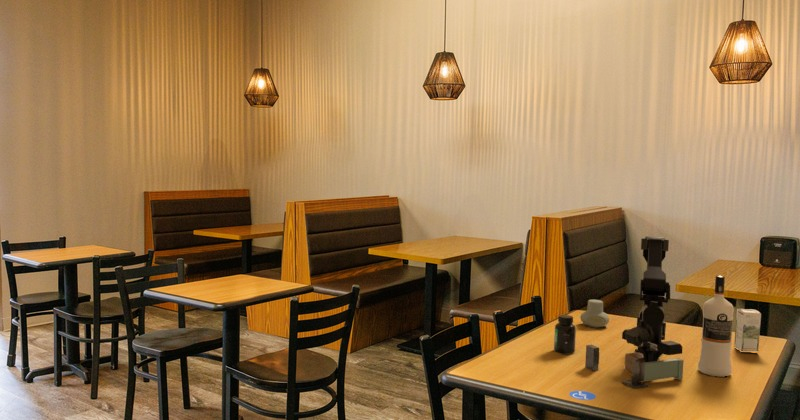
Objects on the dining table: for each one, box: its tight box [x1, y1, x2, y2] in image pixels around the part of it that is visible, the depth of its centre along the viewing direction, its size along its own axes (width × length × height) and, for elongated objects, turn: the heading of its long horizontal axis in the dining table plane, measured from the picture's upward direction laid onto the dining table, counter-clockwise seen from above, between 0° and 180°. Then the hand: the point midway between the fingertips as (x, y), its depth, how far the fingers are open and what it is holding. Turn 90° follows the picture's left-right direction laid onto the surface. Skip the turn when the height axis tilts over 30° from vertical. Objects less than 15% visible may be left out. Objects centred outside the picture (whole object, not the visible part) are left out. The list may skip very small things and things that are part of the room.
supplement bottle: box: [553, 314, 577, 355], centre depth 211 cm, size 7×7×12 cm
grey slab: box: [639, 357, 684, 383], centre depth 183 cm, size 15×2×6 cm, turn 112°
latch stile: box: [584, 344, 600, 372], centre depth 193 cm, size 2×4×7 cm
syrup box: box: [733, 308, 762, 352], centre depth 217 cm, size 6×6×14 cm
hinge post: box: [621, 360, 649, 390], centre depth 179 cm, size 5×5×7 cm
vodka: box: [697, 275, 735, 378], centre depth 191 cm, size 9×9×30 cm
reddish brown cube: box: [624, 351, 645, 373], centre depth 192 cm, size 5×5×5 cm
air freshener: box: [579, 299, 610, 329], centre depth 248 cm, size 11×8×10 cm
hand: (649, 369), depth 188 cm, fingers closed
